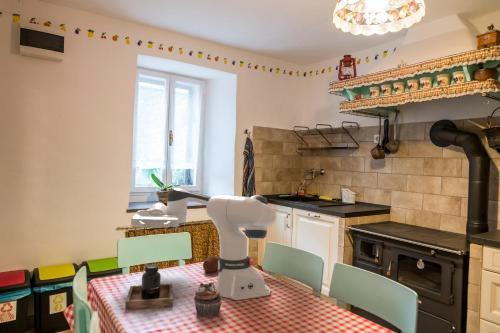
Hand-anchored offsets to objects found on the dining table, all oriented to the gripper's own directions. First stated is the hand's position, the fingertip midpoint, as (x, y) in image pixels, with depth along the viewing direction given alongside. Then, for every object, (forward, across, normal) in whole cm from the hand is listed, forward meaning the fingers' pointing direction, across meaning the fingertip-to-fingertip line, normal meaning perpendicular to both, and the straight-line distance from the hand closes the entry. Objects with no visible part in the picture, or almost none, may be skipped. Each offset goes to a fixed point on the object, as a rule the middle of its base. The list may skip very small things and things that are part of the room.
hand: (154, 226), depth 144 cm
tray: (+18, -1, -23) cm, 30 cm away
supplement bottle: (+18, -1, -23) cm, 29 cm away
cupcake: (+32, -21, -22) cm, 44 cm away
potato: (-14, -27, -27) cm, 40 cm away
